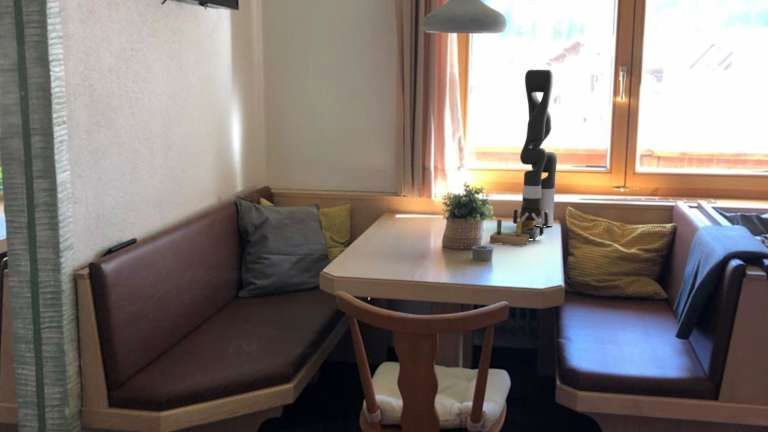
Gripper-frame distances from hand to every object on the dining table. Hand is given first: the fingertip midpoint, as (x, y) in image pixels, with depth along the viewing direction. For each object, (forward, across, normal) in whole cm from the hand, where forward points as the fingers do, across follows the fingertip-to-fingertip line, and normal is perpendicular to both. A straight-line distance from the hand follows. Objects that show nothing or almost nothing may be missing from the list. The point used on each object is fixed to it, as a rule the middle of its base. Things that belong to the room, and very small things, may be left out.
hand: (530, 234), depth 332 cm
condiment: (+2, +5, -13) cm, 14 cm away
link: (+2, 0, 0) cm, 2 cm away
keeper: (+2, +6, +11) cm, 13 cm away
